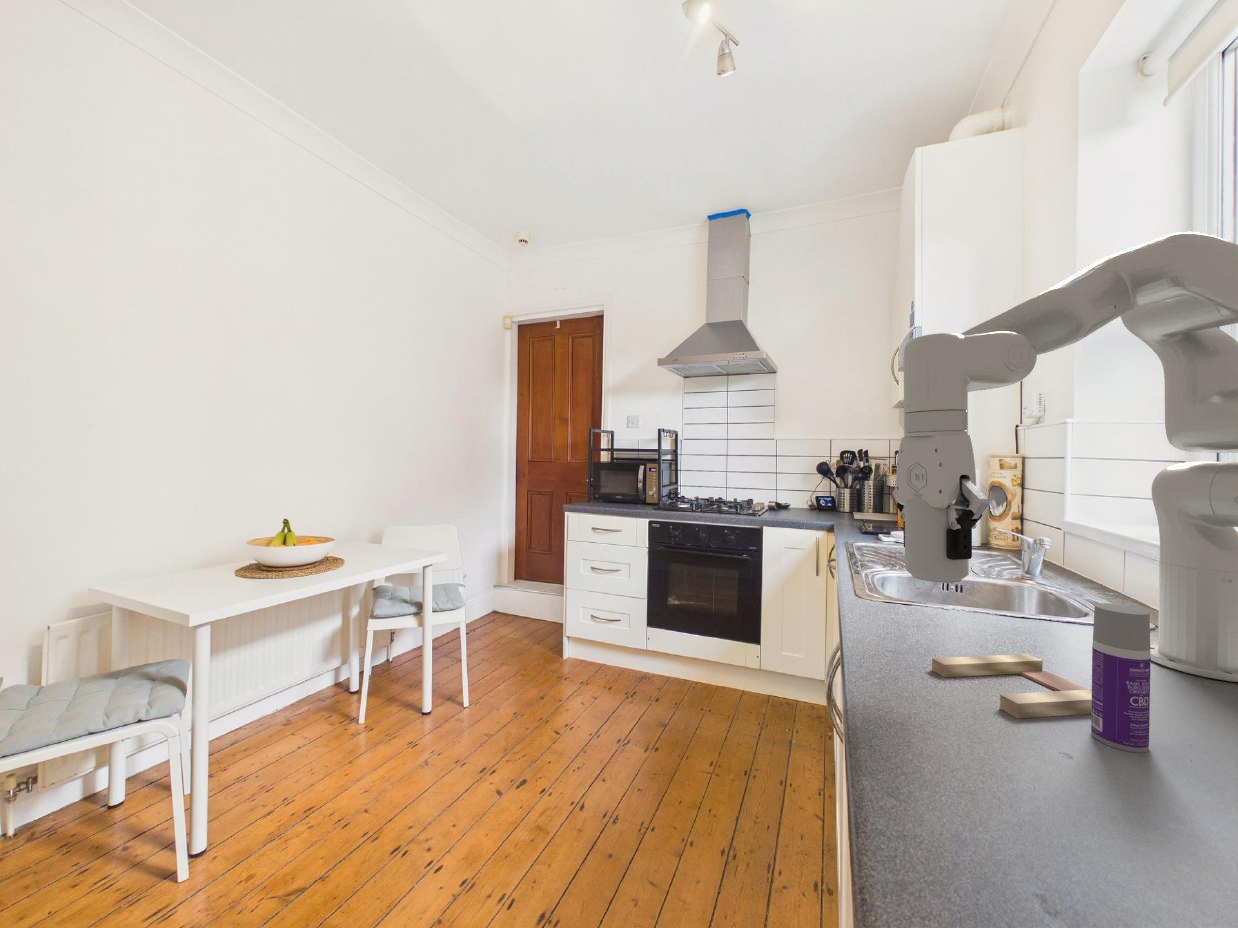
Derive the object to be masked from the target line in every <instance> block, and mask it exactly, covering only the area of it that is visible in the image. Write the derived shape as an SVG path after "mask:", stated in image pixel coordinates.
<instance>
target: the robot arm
mask: <svg viewBox="0 0 1238 928" xmlns="http://www.w3.org/2000/svg"><path fill="white" fill-rule="evenodd" d="M1119 317H1120V319H1121V322H1122V324H1123V325H1124V327H1125V328H1126V329H1127V331H1129V332H1130V333H1131V334H1132V335H1133V336H1135V337H1136V338H1138V339H1139V340H1141V341H1142V342H1143V343H1144V344H1145V345H1146V346H1148V347H1149V348H1150V349H1151V350H1152V351H1153V353H1154V354H1156V355H1157V357H1158V359H1159V360H1160V363H1161V366H1162V368H1163V375H1164V376H1163V377H1164V378H1163V379H1164V428H1165V434H1166V438H1167V441H1168V443H1169V444H1170V445H1171V446H1172V447H1174V448H1175V449H1176V450H1177V449H1178V450H1180V451H1184V452H1190V453H1207V454H1208V453H1209V454H1211V453H1212V454H1215V453H1216V454H1217V453H1221V454H1225V453H1227V454H1229V453H1230V454H1232V453H1234V454H1235V453H1238V341H1237V340H1236V339H1235V338H1233V337H1232V336H1231V335H1229V334H1228V333H1227V332H1225V331H1224V330H1223V329H1220V328H1219V327H1223V326H1229V325H1234V324H1238V244H1237V243H1234V242H1232V241H1229V240H1226V239H1224V238H1221V237H1217V236H1214V235H1209V234H1206V233H1200V232H1195V231H1193V232H1192V231H1187V232H1186V231H1185V232H1181V231H1180V232H1176V233H1175V232H1174V233H1172V234H1171V233H1170V234H1168V235H1164V236H1163V237H1160V238H1156V239H1154V240H1151V241H1148V242H1145V243H1142V244H1139V245H1137V246H1133V247H1130V248H1127V249H1125V250H1121V251H1120V252H1116V253H1114V254H1111V255H1109V256H1106V257H1104V258H1101V259H1100V260H1098V261H1096V262H1094V263H1093V264H1091V265H1089V266H1087V267H1086V268H1084V269H1082V270H1081V271H1078V272H1077V273H1075V274H1073V275H1071V276H1070V277H1068V278H1067V279H1065V280H1063V281H1061V282H1059V283H1058V284H1055V286H1054V285H1053V287H1050V288H1049V289H1048V290H1045V291H1043V292H1041V293H1040V294H1038V295H1037V296H1034V297H1032V298H1029V299H1027V300H1026V301H1025V300H1024V301H1023V302H1021V303H1019V304H1017V305H1016V306H1014V307H1011V308H1010V309H1008V310H1006V311H1004V312H1002V313H1000V314H997V315H995V316H994V317H992V318H990V319H987V320H986V321H983V322H981V323H979V324H977V325H975V326H973V327H971V328H969V329H967V330H965V331H963V332H962V333H960V334H959V333H953V332H942V333H941V332H940V333H931V334H925V335H920V336H917V337H915V338H912V339H911V340H909V341H908V342H906V344H905V346H904V349H903V432H904V433H903V437H901V440H900V444H899V449H898V452H897V453H898V454H897V463H896V475H895V488H894V489H893V491H892V497H893V498H894V501H895V502H896V507H897V509H898V511H899V512H900V520H902V521H903V524H902V525H903V547H904V548H905V502H906V501H907V500H909V499H910V498H912V497H913V495H911V494H910V493H921V494H924V495H923V496H922V499H923V500H925V501H926V502H927V503H928V504H929V505H930V507H932V508H934V509H937V510H941V509H945V508H946V517H947V519H948V522H949V524H950V526H951V528H952V529H947V531H946V545H947V558H948V559H951V560H961V559H969V560H971V559H972V558H973V530H974V529H976V528H977V523H978V522H979V521H980V520H981V518H983V514H984V513H985V511H986V510H987V508H988V506H989V505H990V503H991V501H990V499H989V498H988V497H987V496H986V495H985V494H984V492H982V491H981V490H980V489H979V488H978V487H977V476H976V474H977V473H976V463H975V455H974V449H973V445H972V439H971V435H970V434H969V405H968V404H969V402H968V401H969V398H968V395H969V393H972V392H976V391H986V390H992V389H999V388H1005V387H1009V386H1013V385H1014V384H1017V383H1019V382H1020V381H1023V380H1024V379H1025V378H1026V377H1028V376H1029V375H1030V374H1031V373H1032V371H1033V370H1034V368H1035V365H1036V364H1037V361H1038V360H1037V359H1038V358H1037V356H1040V355H1043V354H1047V353H1050V352H1054V351H1057V350H1059V349H1060V350H1061V349H1062V348H1064V347H1065V348H1066V347H1067V346H1071V345H1073V344H1076V343H1077V342H1080V341H1081V340H1083V339H1085V338H1086V337H1088V336H1089V335H1091V334H1094V332H1096V331H1097V330H1099V329H1101V328H1103V327H1105V326H1106V325H1107V324H1110V323H1111V322H1112V321H1114V320H1116V319H1118V318H1119ZM1151 498H1152V503H1153V506H1154V511H1155V514H1156V518H1157V524H1158V535H1159V565H1158V566H1159V570H1158V572H1159V573H1158V575H1159V576H1158V577H1159V578H1158V581H1159V582H1158V629H1157V632H1158V634H1157V636H1158V637H1157V644H1150V656H1151V661H1152V662H1154V663H1157V664H1159V665H1161V666H1164V667H1166V668H1170V669H1173V670H1176V671H1180V672H1183V673H1187V674H1190V675H1195V676H1199V677H1204V678H1209V679H1214V680H1220V681H1225V682H1235V683H1238V531H1237V530H1236V529H1235V528H1238V461H1189V462H1181V463H1177V464H1173V465H1170V466H1167V467H1166V468H1164V469H1162V470H1161V471H1159V472H1158V473H1157V474H1156V475H1155V476H1154V478H1153V480H1152V484H1151ZM955 501H960V502H961V504H962V505H953V504H954V503H955ZM955 511H962V514H961V515H960V516H959V517H958V516H957V514H956V512H955Z"/></svg>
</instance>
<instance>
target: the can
mask: <svg viewBox="0 0 1238 928" xmlns="http://www.w3.org/2000/svg"><path fill="white" fill-rule="evenodd" d="M910 494H911V495H913V497H912V498H910V499H909V500H907V501H906V502H905V547H904V569H905V571H907V572H908V573H909V574H910V575H911V576H912V577H913V578H914V579H917V580H921V581H925V582H933V583H943V584H945V583H946V584H947V583H948V584H951V583H952V584H953V583H959V582H961V581H962V580H964V578H966V577H968V576H969V573H970V570H969V568H970V565H969V564H970V563H969V560H970V559H961V560H951V559H948V558H947V545H946V531H947V529H952V528H951V526H950V524H949V522H948V519H947V517H946V508H945V509H941V510H937V509H934V508H932V507H930V505H929V504H928V503H927V502H926V501H925V500H923V499H922V496H923V495H924V494H921V493H910ZM953 505H962V504H961V502H960V501H955V503H954V504H953ZM955 512H956V514H957V516H958V517H959V516H960V515H961V514H962V511H955Z"/></svg>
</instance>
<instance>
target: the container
mask: <svg viewBox="0 0 1238 928" xmlns="http://www.w3.org/2000/svg"><path fill="white" fill-rule="evenodd" d="M1150 616H1151V615H1150V612H1149V610H1148V611H1147V610H1146V609H1143V608H1139V607H1135V606H1131V605H1125V604H1118V603H1117V604H1116V603H1106V602H1100V603H1095V604H1094V611H1093V632H1092V647H1091V648H1092V649H1091V650H1092V651H1091V652H1092V654H1091V655H1092V656H1091V657H1092V658H1091V689H1092V707H1091V714H1090V717H1091V718H1090V719H1091V720H1090V723H1091V724H1090V731H1091V732H1090V734H1091V736H1092V737H1093V738H1095V740H1097V741H1098V742H1101V743H1103V744H1104V745H1107V746H1109V747H1112V748H1113V749H1118V750H1122V751H1124V752H1125V751H1126V752H1131V753H1146V752H1148V751H1149V750H1150V718H1151V717H1150V709H1151V707H1150V706H1151V704H1150V703H1151V661H1152V660H1151V656H1150V645H1151V621H1150V620H1151V618H1150Z"/></svg>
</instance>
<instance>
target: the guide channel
mask: <svg viewBox="0 0 1238 928" xmlns="http://www.w3.org/2000/svg"><path fill="white" fill-rule="evenodd" d="M1043 663H1044V662H1043V659H1040V658H1038V657H1035V656H1033V655H1031V654H1029V653H1024V654H1023V653H1022V654H1020V653H1019V654H997V655H993V654H992V655H976V656H951V657H948V656H947V657H932V659H931V671H933V672H935V673H937V674H938V675H940V676H942V677H943V678H951V677H952V678H955V677H974V676H975V677H976V676H995V675H998V676H999V675H1016V674H1020V675H1021V676H1022V677H1025V678H1027V679H1030V680H1031V681H1034V682H1035V683H1038V684H1041V685H1043V686H1045V687H1047V688H1049V689H1051V690H1052V691H1039V692H1037V691H1036V692H1035V691H1034V692H1020V693H1002V694H1001V693H1000V694H999V709H1000V710H1002V711H1003V712H1006V713H1008V714H1010V715H1011V716H1012V717H1015V718H1016V719H1026V718H1027V719H1028V718H1045V717H1060V716H1061V717H1063V716H1075V715H1076V716H1078V715H1079V716H1080V715H1091V707H1092V688H1091V689H1088V688H1085V687H1083V686H1082V685H1078V684H1076V683H1074V682H1072V681H1070V680H1067V679H1064V678H1062V677H1060V676H1058V675H1056V674H1053V673H1052V672H1048V671H1046V670H1043V667H1044V665H1043Z"/></svg>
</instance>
